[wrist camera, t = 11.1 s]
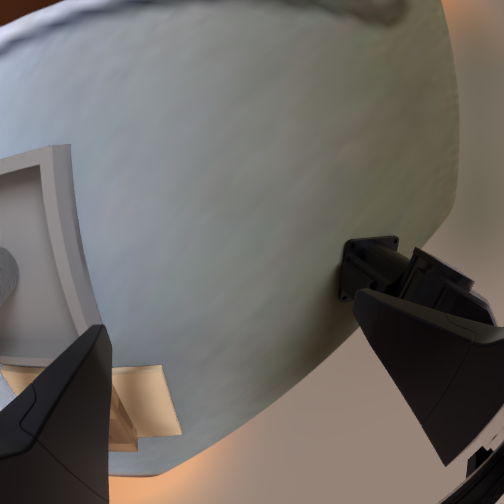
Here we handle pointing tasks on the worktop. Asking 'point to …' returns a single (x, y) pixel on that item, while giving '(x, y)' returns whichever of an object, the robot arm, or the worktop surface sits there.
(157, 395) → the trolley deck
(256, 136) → the worktop surface
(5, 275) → the pin
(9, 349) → the tray
